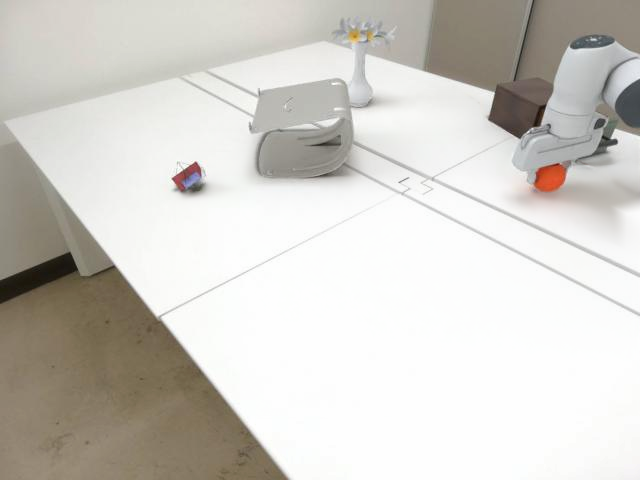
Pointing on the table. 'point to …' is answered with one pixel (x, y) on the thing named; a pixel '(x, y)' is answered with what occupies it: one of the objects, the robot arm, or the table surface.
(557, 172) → the clementine
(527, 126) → the cabinet
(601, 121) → the robot arm
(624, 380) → the table surface
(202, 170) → the geometric puzzle
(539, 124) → the drawer
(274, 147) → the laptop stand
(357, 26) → the flower vase
